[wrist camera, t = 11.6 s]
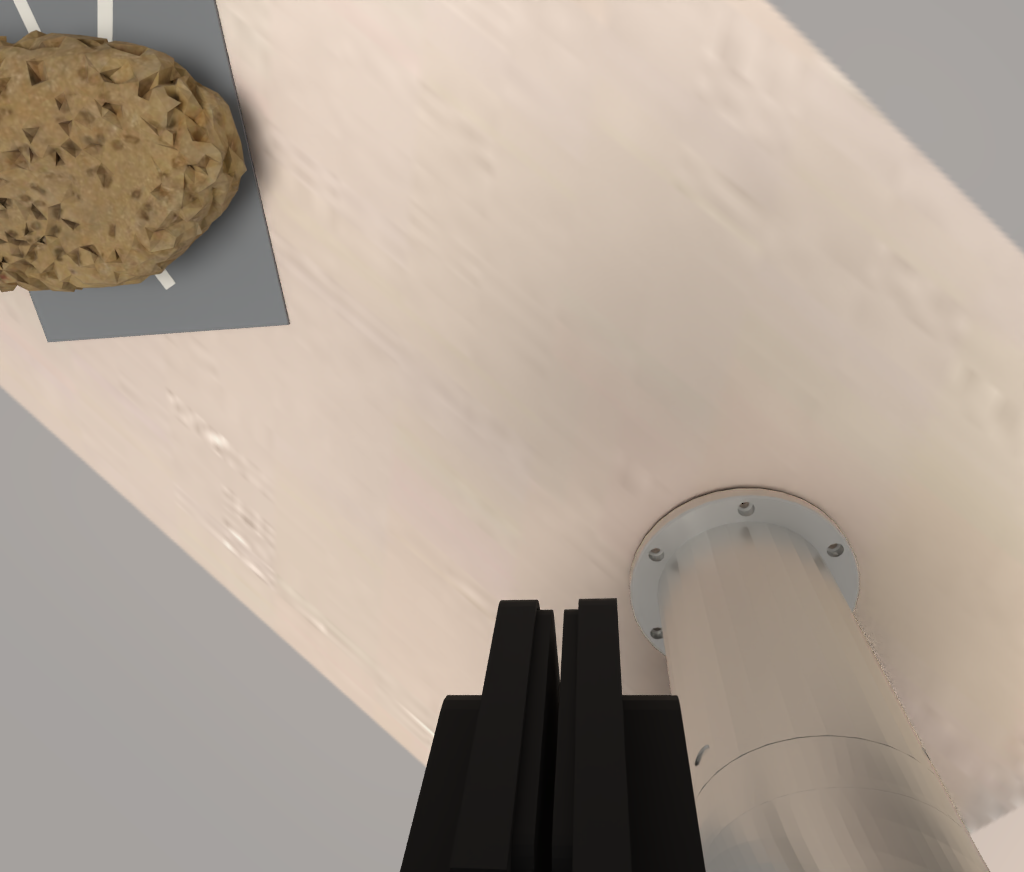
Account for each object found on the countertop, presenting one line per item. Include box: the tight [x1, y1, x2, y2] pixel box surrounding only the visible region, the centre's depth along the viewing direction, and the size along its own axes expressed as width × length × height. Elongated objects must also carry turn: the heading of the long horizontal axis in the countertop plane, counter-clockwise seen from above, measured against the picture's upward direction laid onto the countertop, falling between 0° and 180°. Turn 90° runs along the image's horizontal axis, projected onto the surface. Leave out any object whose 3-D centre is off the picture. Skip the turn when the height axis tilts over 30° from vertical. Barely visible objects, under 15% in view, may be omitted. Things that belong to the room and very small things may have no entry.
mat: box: [0, 0, 289, 342], centre depth 33 cm, size 24×14×1 cm, turn 6°
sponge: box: [0, 30, 247, 292], centre depth 31 cm, size 13×8×20 cm
